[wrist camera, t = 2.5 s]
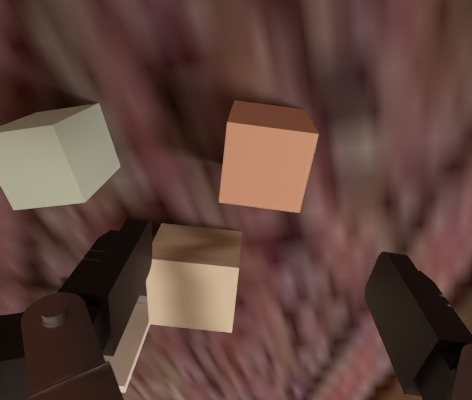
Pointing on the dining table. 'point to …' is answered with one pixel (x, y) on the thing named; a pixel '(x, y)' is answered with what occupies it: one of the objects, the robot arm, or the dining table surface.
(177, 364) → the dining table surface
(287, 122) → the terracotta block
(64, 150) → the sage block
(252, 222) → the dining table surface
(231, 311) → the beech base block
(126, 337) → the board
